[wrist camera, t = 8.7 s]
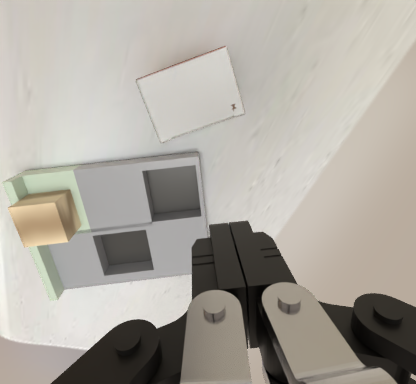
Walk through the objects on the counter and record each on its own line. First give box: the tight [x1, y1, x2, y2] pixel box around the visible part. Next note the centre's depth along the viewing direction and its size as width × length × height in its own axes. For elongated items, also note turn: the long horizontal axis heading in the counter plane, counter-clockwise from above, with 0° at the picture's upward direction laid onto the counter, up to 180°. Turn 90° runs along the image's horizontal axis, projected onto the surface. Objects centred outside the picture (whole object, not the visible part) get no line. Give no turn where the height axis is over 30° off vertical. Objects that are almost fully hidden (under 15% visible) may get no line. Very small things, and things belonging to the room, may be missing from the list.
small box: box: [136, 46, 245, 143], centre depth 27 cm, size 8×6×10 cm
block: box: [8, 189, 81, 247], centre depth 31 cm, size 5×5×4 cm
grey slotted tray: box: [2, 152, 208, 301], centre depth 35 cm, size 17×22×4 cm
